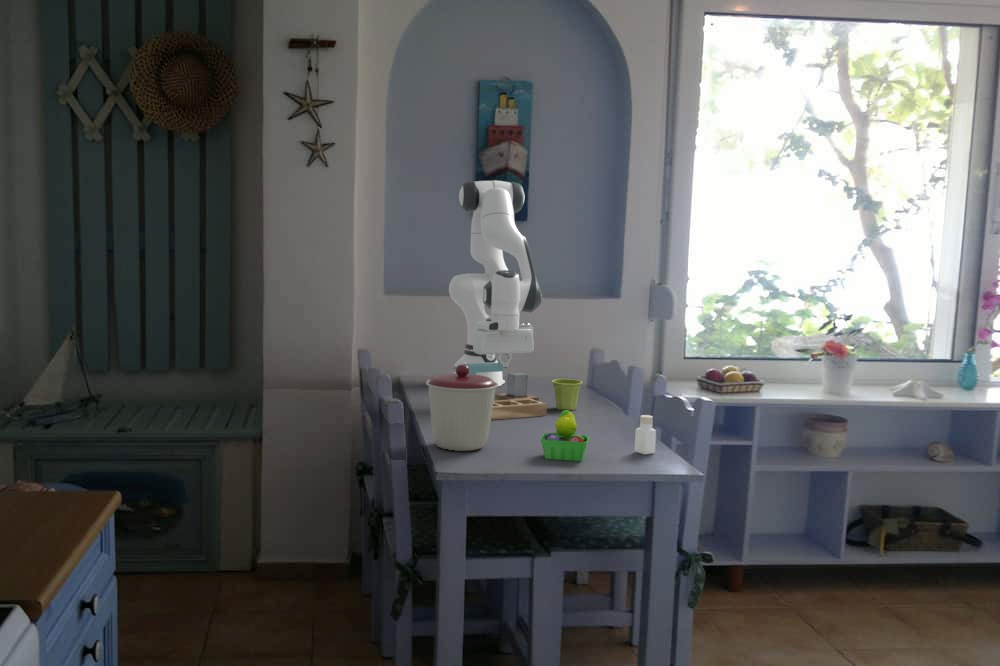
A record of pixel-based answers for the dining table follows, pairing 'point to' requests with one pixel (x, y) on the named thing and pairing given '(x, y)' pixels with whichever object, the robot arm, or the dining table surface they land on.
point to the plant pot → (566, 393)
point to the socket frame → (505, 397)
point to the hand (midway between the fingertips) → (503, 367)
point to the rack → (517, 408)
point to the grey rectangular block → (517, 385)
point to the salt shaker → (645, 436)
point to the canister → (461, 409)
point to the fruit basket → (564, 440)
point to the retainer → (484, 367)
